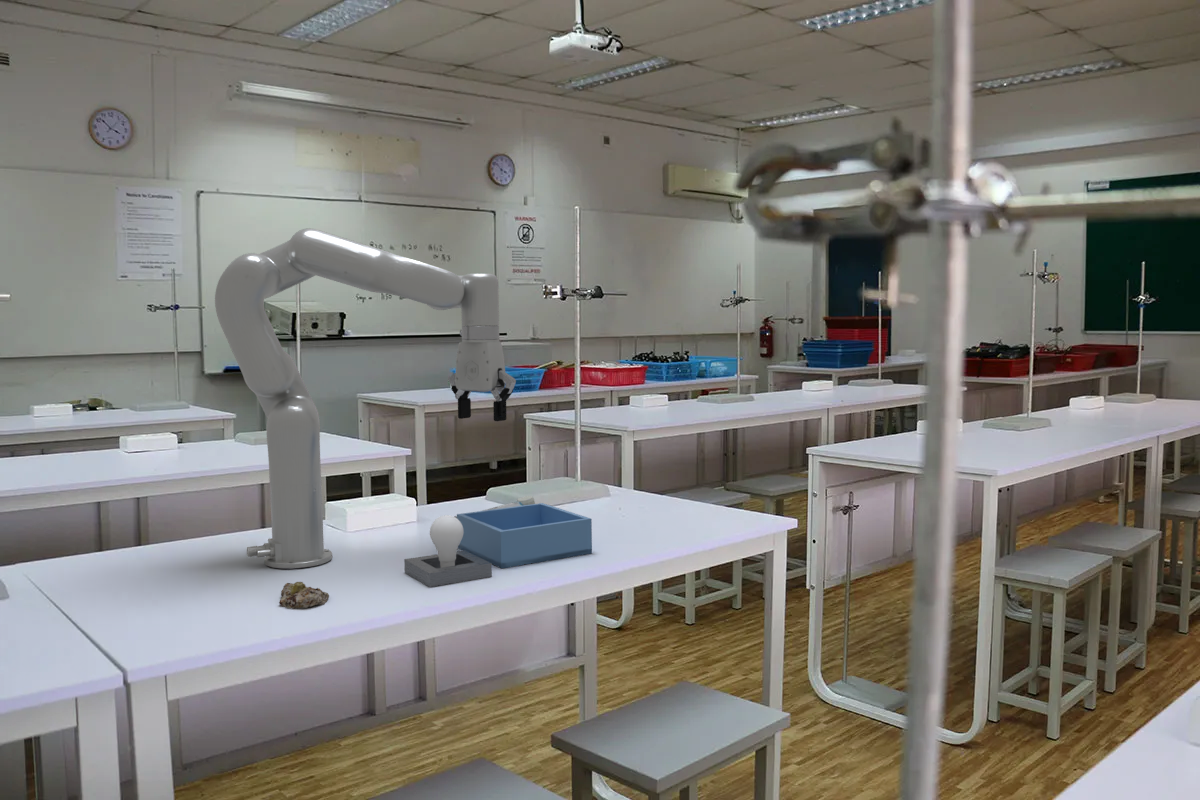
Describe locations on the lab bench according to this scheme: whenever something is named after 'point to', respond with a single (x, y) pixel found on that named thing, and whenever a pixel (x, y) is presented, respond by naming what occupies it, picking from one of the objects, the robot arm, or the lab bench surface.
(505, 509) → the bin
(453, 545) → the lightbulb
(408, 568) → the socket block
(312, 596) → the mineral rock
